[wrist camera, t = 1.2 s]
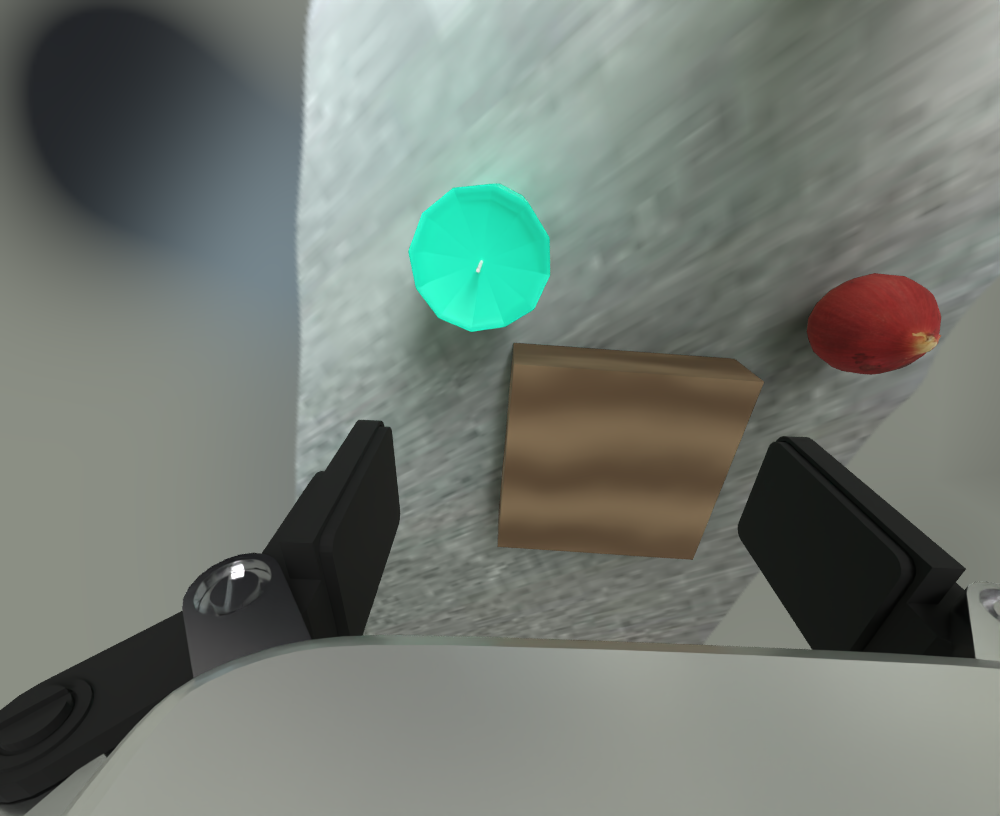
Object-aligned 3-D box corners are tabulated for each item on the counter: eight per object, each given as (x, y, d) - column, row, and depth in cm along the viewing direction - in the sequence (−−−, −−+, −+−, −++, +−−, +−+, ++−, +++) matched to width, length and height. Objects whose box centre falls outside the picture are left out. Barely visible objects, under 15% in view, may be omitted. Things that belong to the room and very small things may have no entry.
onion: (868, 337, 29) (982, 385, 22) (781, 358, 30) (863, 411, 23) (878, 252, 27) (1010, 277, 20) (782, 279, 28) (875, 311, 21)
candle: (439, 275, 28) (396, 331, 17) (450, 174, 25) (405, 167, 15) (528, 291, 28) (537, 355, 18) (547, 193, 26) (573, 199, 15)
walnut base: (513, 342, 30) (513, 363, 27) (734, 358, 30) (764, 381, 27) (498, 512, 38) (497, 546, 34) (675, 524, 38) (692, 559, 34)
